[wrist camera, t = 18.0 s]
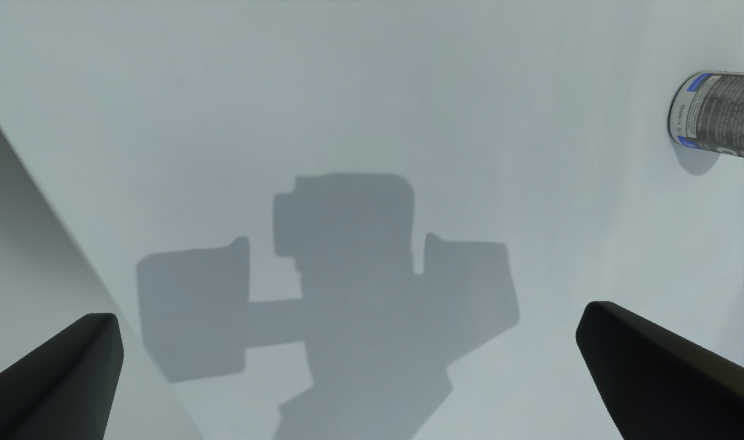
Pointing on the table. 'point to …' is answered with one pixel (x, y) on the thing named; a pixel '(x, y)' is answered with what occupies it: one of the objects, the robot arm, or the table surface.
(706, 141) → the pill bottle
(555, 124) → the table surface
